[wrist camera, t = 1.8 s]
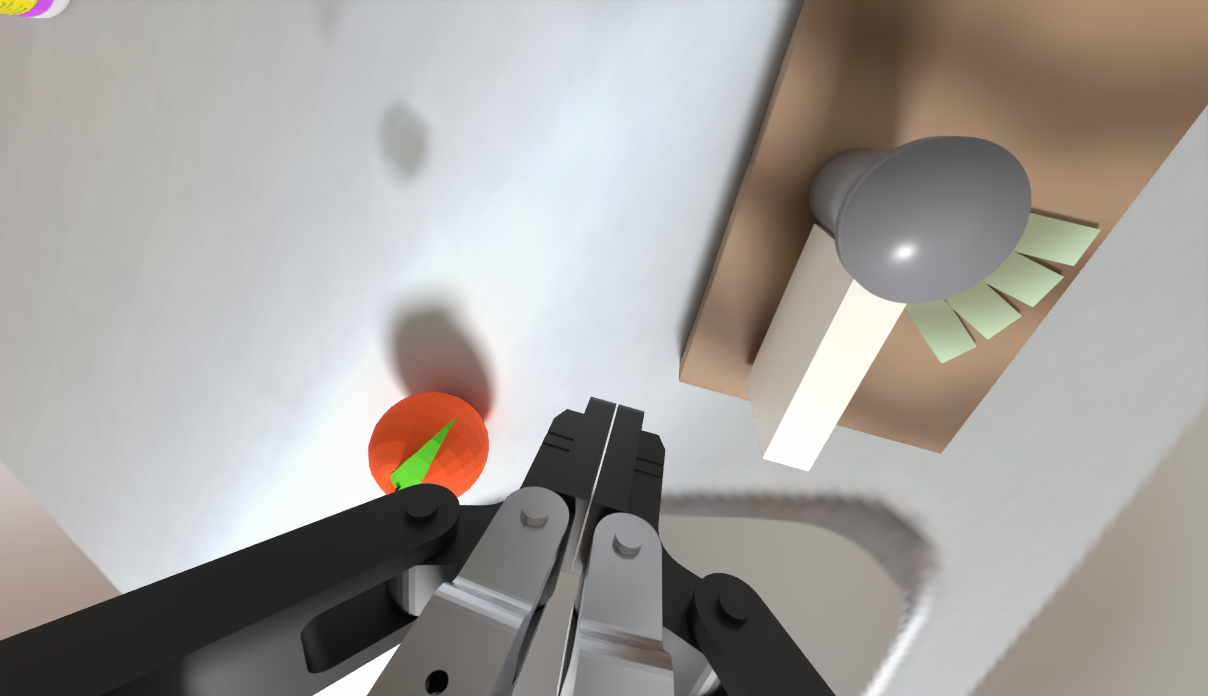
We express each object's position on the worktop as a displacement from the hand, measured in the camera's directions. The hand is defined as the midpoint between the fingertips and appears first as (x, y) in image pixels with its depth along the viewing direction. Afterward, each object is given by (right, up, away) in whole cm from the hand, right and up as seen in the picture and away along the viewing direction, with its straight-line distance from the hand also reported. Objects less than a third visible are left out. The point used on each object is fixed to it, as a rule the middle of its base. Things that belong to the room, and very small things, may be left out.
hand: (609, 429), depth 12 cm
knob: (+9, +6, +8) cm, 13 cm away
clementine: (-10, -2, +18) cm, 21 cm away
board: (+13, +8, +8) cm, 17 cm away
